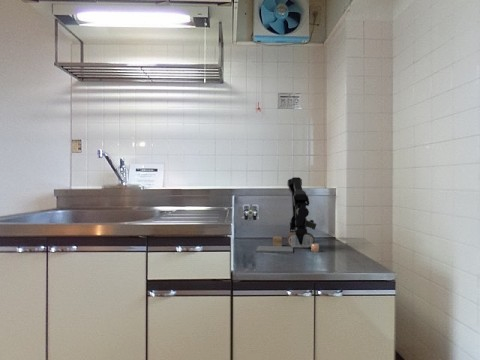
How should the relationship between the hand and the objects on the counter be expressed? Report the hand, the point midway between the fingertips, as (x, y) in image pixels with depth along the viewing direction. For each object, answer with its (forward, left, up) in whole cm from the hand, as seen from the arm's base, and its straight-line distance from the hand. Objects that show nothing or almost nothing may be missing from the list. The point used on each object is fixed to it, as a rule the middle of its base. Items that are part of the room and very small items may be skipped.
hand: (300, 244), depth 182 cm
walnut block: (-4, -13, -2) cm, 14 cm away
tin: (0, 0, -2) cm, 2 cm away
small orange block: (+9, +7, -2) cm, 12 cm away
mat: (+8, -14, -2) cm, 16 cm away
